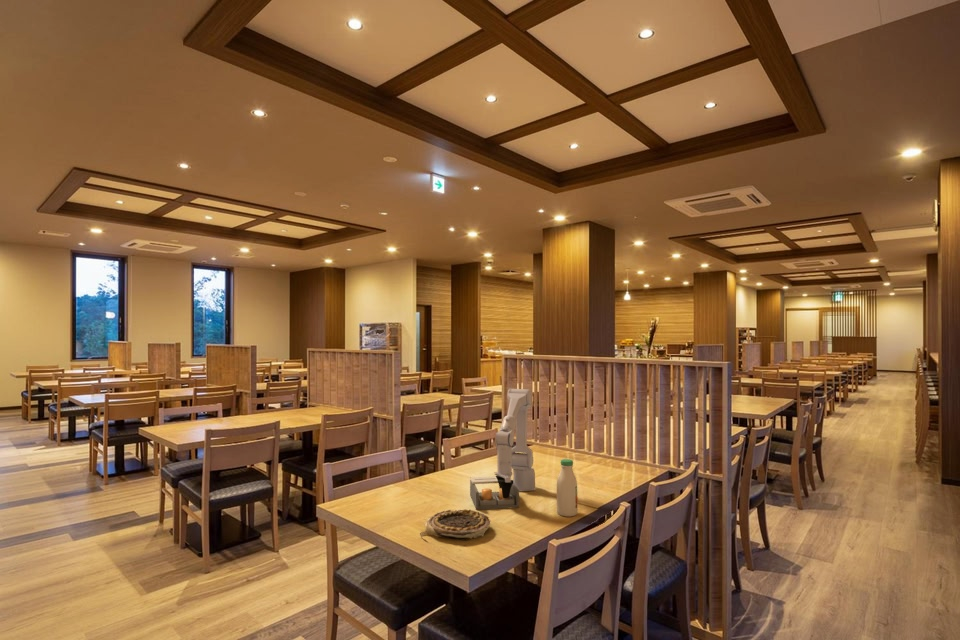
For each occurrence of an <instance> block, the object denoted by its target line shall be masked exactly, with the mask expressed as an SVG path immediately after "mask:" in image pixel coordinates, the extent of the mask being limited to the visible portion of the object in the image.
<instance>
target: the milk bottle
mask: <svg viewBox="0 0 960 640" xmlns="http://www.w3.org/2000/svg"><path fill="white" fill-rule="evenodd" d="M573 461H574V460H572V459H569V458H562V459H561V460H560V467H561V468H560V472H559V474H558V476H557V480H556V513H557V515H559V516H561V517H575V516H577V515H578V481H577V477H576V475H575V472H574V469H573V467H574V462H573Z"/></svg>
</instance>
